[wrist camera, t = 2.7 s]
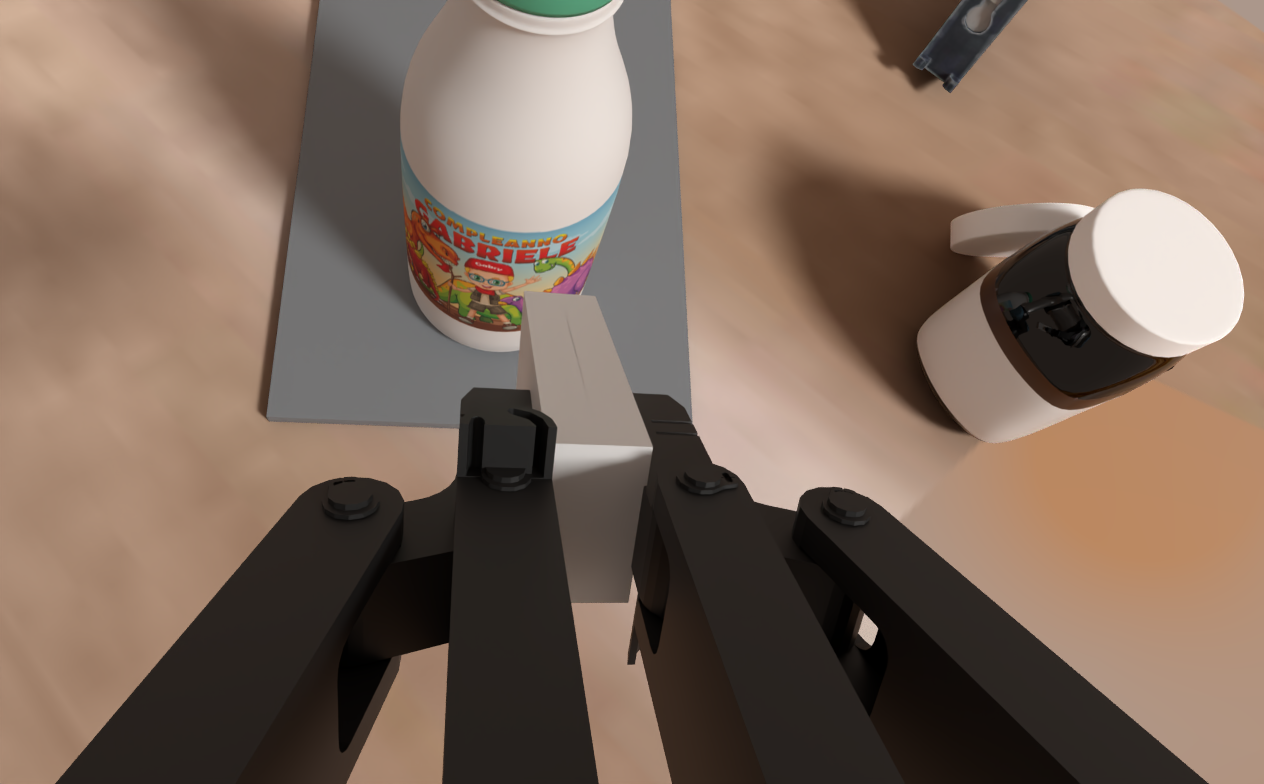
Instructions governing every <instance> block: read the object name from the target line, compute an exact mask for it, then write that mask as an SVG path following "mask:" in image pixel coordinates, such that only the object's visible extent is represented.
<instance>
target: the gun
mask: <svg viewBox="0 0 1264 784" xmlns="http://www.w3.org/2000/svg"><path fill="white" fill-rule="evenodd" d="M1026 2H1027V0H962V1H961V2H960V3H959V5H958V6H957V7H956V9H955V10H954V11H953V12H952V14H951V15H950V16H949V18H948V19H947V20H946V22H945V23H944V24H943V26H942V27H941V28H940V29H939V31H938V32H937V33H936V35H935V36H934V37H933V39H932V40H931V41H930V43H929V44H928V45H927V46H926V48H925V49H924V50H923V52H922V53H921V54H920V55H919V57H918V58H917V59H916V61H915V62H914V63H913V65H914V66H915V67H916V68H917V69H920V70H923V69H924V68H926V69H927V70H928V71H930V72H931V73H932V74H934V75H935V76H936V77H938V78H939V79H940V80H941V81H943V82H944V84H943V85H942V86H943V87H944V88H945V90H947V91H948V92H949V93H951V92H952V91H953V90H954V88H955V87H956V86H957V85H958V83H959V82H960V81H961V79H962V78H963V77H964V76H965V75H966V73H967V72H968V71H969V70H970V69H971V67H972V66H973V65H974V64H975V63H976V61H977V60H978V59H979V58H980V57H981V55H982V54H983V53H984V52H985V51H986V49H987V48H988V47H989V46H990V45H991V43H992V42H993V41H994V40H995V39H996V37H997V36H998V35H999V34H1000V33H1001V31H1002V30H1003V29H1004V28H1005V27H1006V25H1007V24H1008V23H1009V22H1010V21H1011V19H1012V18H1013V17H1014V16H1015V15H1016V14H1017V12H1018V11H1019V10H1020V9H1021V8H1022V6H1023V5H1024V4H1025V3H1026Z"/></svg>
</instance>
